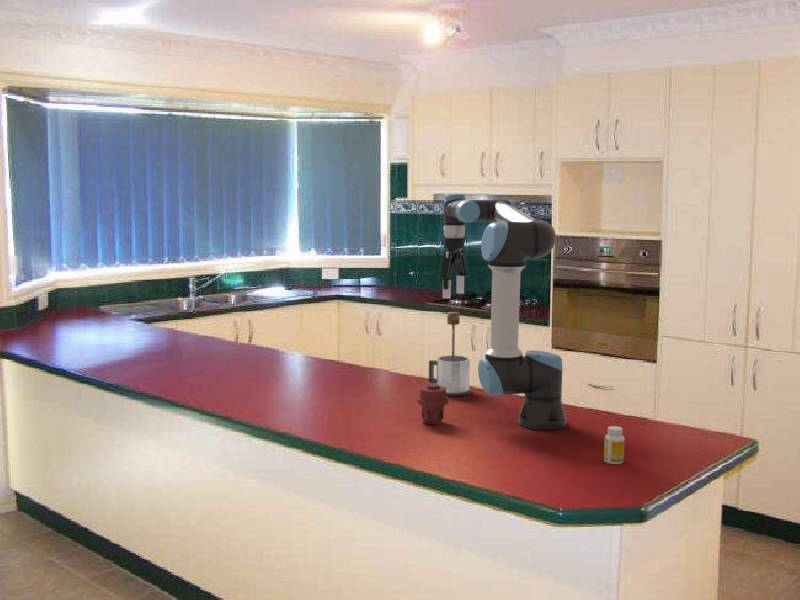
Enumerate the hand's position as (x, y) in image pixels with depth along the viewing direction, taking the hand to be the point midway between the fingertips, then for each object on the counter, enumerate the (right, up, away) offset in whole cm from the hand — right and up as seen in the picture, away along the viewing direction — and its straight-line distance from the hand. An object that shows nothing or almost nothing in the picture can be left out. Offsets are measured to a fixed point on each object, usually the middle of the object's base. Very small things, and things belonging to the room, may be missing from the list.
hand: (453, 295), depth 322 cm
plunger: (0, -27, +4) cm, 27 cm away
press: (-1, -35, +5) cm, 36 cm away
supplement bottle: (+40, -47, -73) cm, 96 cm away
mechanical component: (-9, -41, -35) cm, 55 cm away
